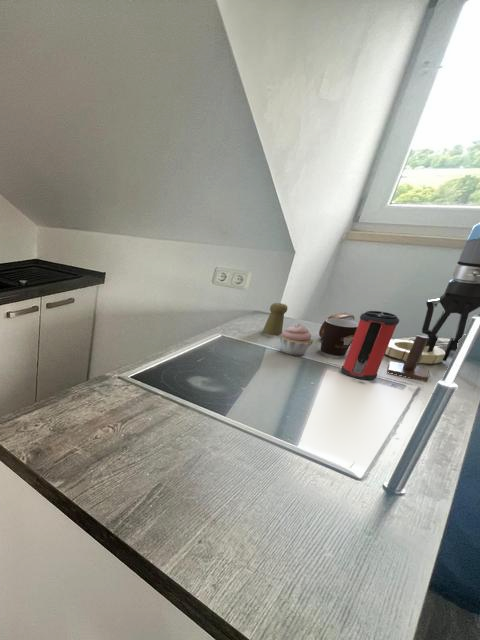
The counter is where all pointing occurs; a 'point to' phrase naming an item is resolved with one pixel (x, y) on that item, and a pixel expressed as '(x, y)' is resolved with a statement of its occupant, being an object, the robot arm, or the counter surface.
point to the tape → (403, 348)
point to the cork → (275, 319)
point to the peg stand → (412, 362)
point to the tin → (337, 316)
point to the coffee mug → (337, 336)
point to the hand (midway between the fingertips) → (435, 357)
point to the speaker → (369, 344)
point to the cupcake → (295, 340)
